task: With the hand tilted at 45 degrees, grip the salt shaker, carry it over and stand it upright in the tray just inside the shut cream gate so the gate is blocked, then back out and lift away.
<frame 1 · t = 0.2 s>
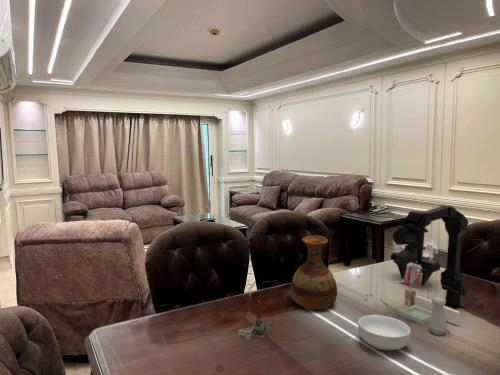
hand: (412, 282, 146), 14 cm above the table, tool pointing down, fingers open, 9 cm apart
eiffel tower figurine: (258, 333, 132), on the table
gate: (434, 308, 149), point 3 cm above the table, hinge at 0.0°
skull: (413, 284, 188), on the table
salt shaker: (437, 333, 134), on the table
tray: (418, 317, 147), on the table
gate post: (409, 305, 160), on the table
cereal bowl: (382, 345, 125), on the table
brown ceramic vase: (313, 304, 159), on the table
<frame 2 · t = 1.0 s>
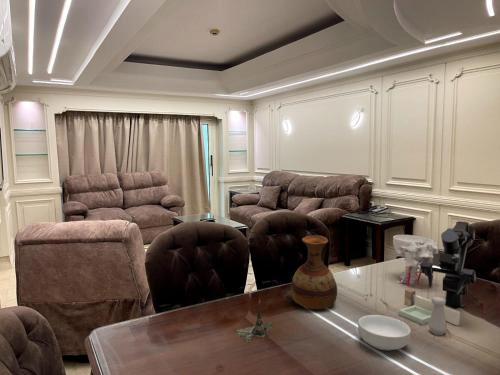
hand: (443, 291, 140), 13 cm above the table, tool tilted 45°, fingers open, 9 cm apart
nothing on the table moved.
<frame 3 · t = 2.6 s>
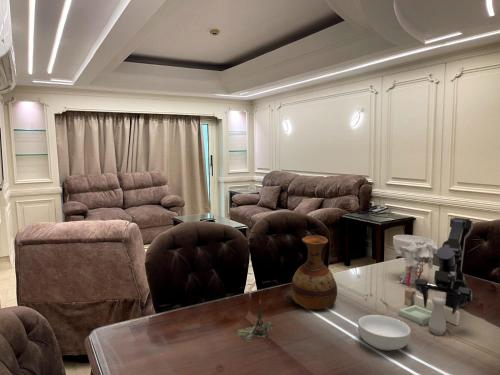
hand: (438, 310, 134), 8 cm above the table, tool tilted 45°, fingers open, 9 cm apart
nothing on the table moved.
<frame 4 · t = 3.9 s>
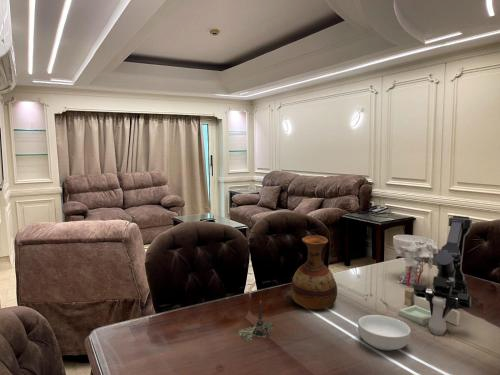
hand: (437, 316, 133), 7 cm above the table, tool tilted 45°, fingers closed on salt shaker, 3 cm apart
salt shaker: (437, 333, 134), on the table, touching gripper
everything else where it was.
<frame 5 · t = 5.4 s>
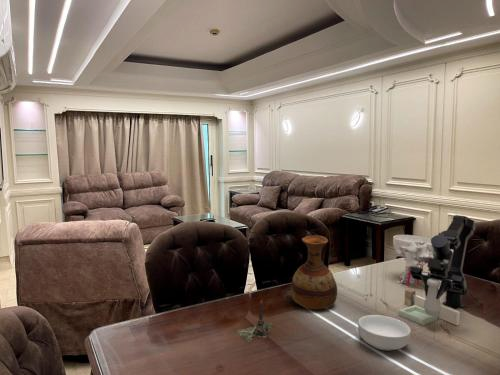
hand: (431, 297, 136), 12 cm above the table, tool tilted 45°, fingers closed on salt shaker, 3 cm apart
salt shaker: (431, 314, 137), point 5 cm above the table, touching gripper
everything else where it was.
when the fingers open (9 cm above the table, at t = 7.2 s): salt shaker drops 1 cm, resting on tray.
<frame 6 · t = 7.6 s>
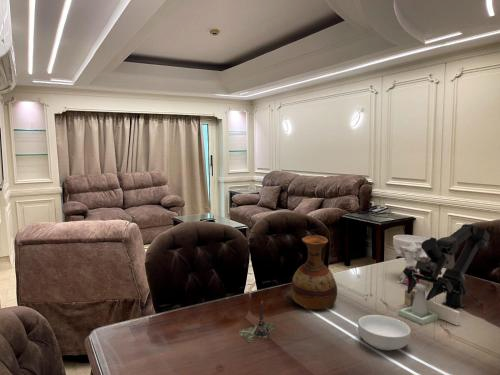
hand: (417, 296, 146), 9 cm above the table, tool tilted 45°, fingers open, 8 cm apart
salt shaker: (418, 316, 147), resting on tray
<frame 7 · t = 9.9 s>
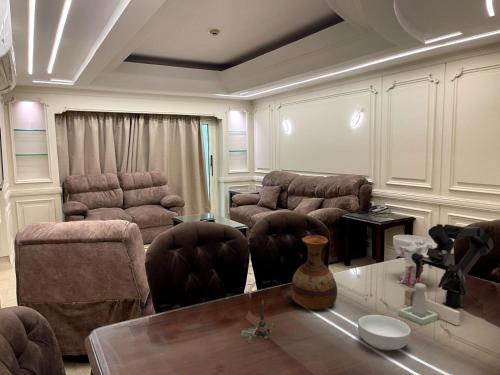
hand: (427, 282, 149), 13 cm above the table, tool tilted 40°, fingers open, 9 cm apart
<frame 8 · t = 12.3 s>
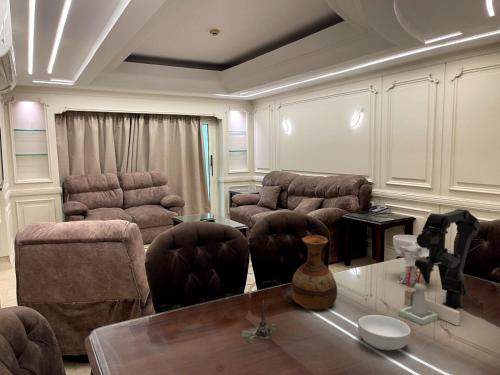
hand: (434, 282, 150), 13 cm above the table, tool pointing down, fingers open, 9 cm apart
at the end: salt shaker 0.3 cm off-centre on the tray, point 0.4 cm above the tray's base; salt shaker tilted 0°; gate at +0° (first picture: +0°) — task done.
